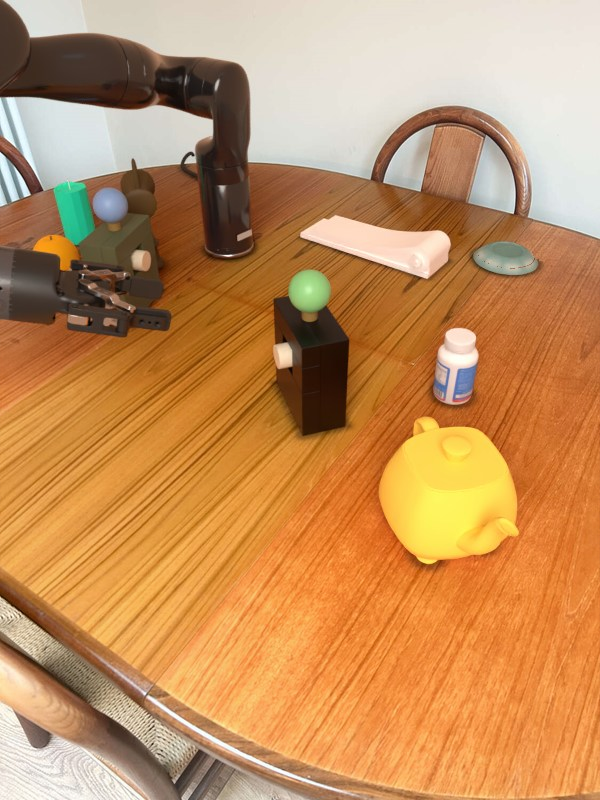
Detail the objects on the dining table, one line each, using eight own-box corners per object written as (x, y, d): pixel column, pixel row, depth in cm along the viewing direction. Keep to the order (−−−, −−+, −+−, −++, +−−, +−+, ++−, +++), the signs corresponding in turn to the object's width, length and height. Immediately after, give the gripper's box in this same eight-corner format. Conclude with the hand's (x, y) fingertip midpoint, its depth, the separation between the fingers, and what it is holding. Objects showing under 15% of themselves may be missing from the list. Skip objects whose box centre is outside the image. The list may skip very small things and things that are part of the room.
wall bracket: (324, 187, 130) (453, 223, 117) (328, 217, 136) (451, 255, 123) (295, 216, 125) (426, 257, 113) (300, 246, 131) (426, 288, 119)
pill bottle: (473, 386, 93) (485, 328, 87) (468, 409, 89) (480, 351, 83) (435, 378, 95) (444, 321, 89) (428, 401, 91) (437, 343, 85)
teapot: (461, 461, 82) (478, 381, 74) (551, 595, 67) (584, 513, 59) (357, 484, 79) (363, 403, 71) (427, 629, 64) (444, 547, 56)
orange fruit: (35, 288, 116) (23, 249, 111) (40, 267, 122) (29, 229, 117) (81, 283, 117) (72, 244, 112) (84, 262, 123) (75, 225, 118)
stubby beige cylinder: (280, 374, 84) (279, 353, 82) (273, 360, 86) (272, 340, 84) (298, 370, 84) (298, 350, 82) (290, 356, 87) (290, 336, 85)
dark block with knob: (302, 436, 86) (301, 301, 73) (276, 382, 94) (271, 253, 81) (345, 426, 87) (351, 292, 74) (315, 374, 96) (317, 246, 83)
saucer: (469, 234, 126) (468, 245, 127) (481, 264, 117) (479, 275, 118) (531, 234, 125) (529, 245, 127) (548, 264, 116) (545, 275, 118)
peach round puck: (152, 265, 106) (149, 247, 104) (143, 274, 104) (140, 256, 102) (138, 263, 107) (135, 245, 105) (130, 273, 105) (126, 254, 102)
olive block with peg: (161, 291, 115) (143, 175, 102) (130, 327, 106) (106, 206, 93) (130, 286, 116) (108, 172, 103) (97, 322, 107) (68, 202, 94)
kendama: (165, 253, 126) (149, 147, 113) (169, 276, 119) (152, 166, 106) (133, 256, 125) (113, 150, 112) (135, 281, 118) (114, 170, 105)
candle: (89, 246, 128) (75, 186, 121) (60, 243, 129) (45, 184, 122) (102, 232, 133) (89, 174, 125) (74, 230, 134) (60, 172, 126)
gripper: (4, 275, 60) (179, 299, 66) (16, 227, 72) (165, 251, 78) (1, 347, 64) (167, 364, 70) (13, 290, 75) (155, 309, 81)
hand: (166, 304), depth 74 cm, fingers open, 8 cm apart
